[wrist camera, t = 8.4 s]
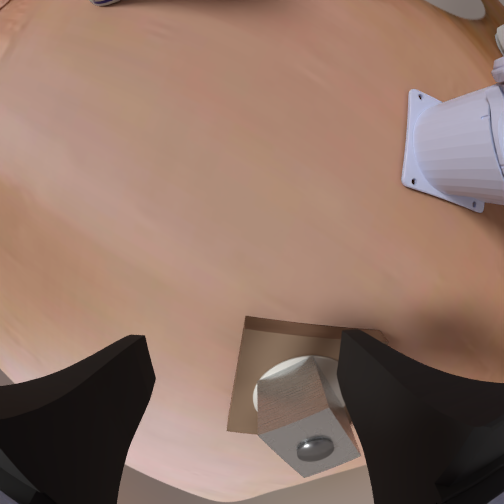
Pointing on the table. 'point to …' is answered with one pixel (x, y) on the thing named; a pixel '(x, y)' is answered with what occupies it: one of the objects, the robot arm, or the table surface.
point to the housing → (304, 419)
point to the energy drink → (103, 2)
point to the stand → (281, 361)
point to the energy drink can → (500, 38)
